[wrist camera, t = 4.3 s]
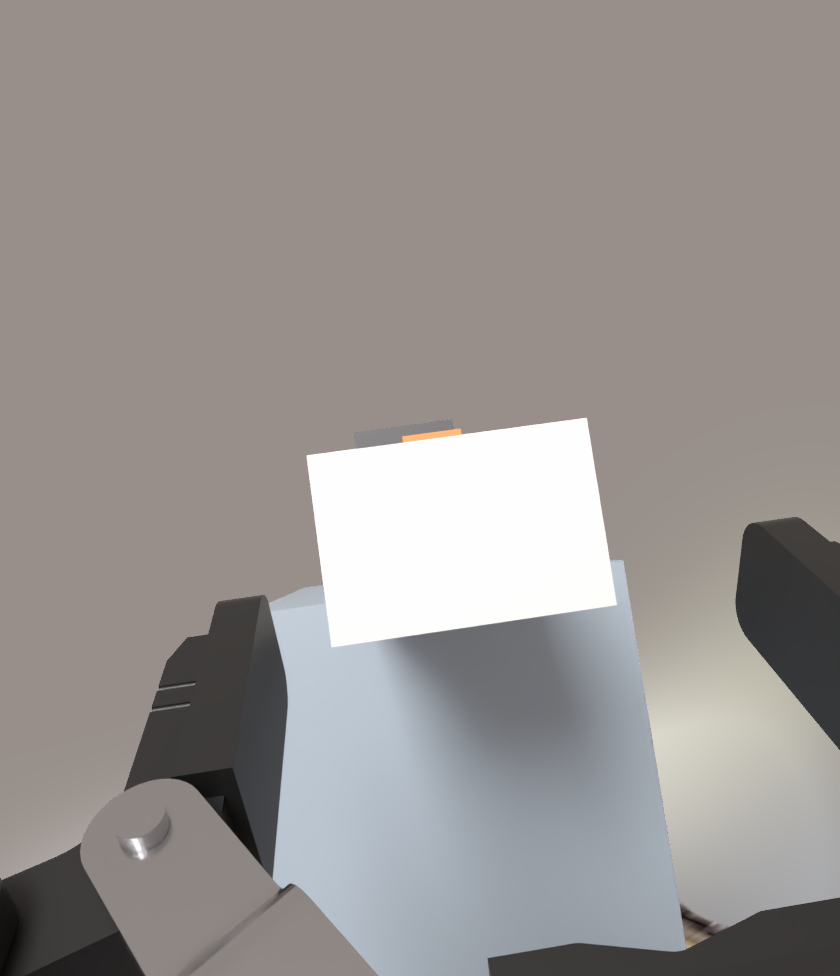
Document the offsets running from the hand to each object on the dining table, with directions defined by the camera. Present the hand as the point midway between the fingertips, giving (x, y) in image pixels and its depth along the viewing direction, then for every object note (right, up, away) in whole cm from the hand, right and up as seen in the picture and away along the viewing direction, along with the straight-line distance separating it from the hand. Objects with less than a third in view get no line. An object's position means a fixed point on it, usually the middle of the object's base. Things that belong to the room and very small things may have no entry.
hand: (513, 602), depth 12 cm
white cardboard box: (-1, -1, +12) cm, 12 cm away
